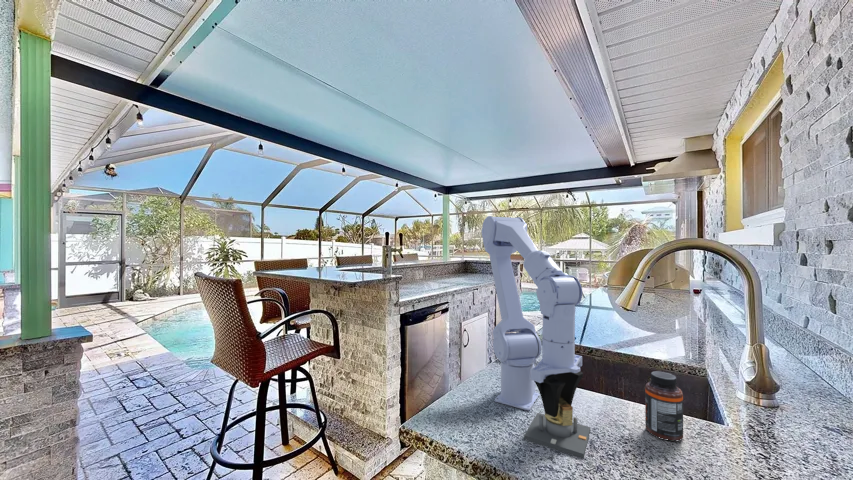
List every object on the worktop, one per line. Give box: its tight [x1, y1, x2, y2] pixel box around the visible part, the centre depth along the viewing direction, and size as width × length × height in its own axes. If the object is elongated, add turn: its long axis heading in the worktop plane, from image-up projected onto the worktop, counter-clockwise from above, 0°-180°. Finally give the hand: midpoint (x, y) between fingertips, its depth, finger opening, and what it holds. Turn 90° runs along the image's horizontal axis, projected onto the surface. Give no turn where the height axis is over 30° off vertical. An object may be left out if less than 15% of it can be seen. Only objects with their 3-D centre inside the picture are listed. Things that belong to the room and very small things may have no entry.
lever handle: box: [544, 396, 574, 426], centre depth 63 cm, size 7×5×4 cm
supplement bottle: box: [644, 370, 684, 441], centre depth 64 cm, size 6×6×11 cm
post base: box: [523, 412, 591, 460], centre depth 62 cm, size 10×10×3 cm
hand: (557, 410), depth 63 cm, fingers closed on lever handle, 4 cm apart
